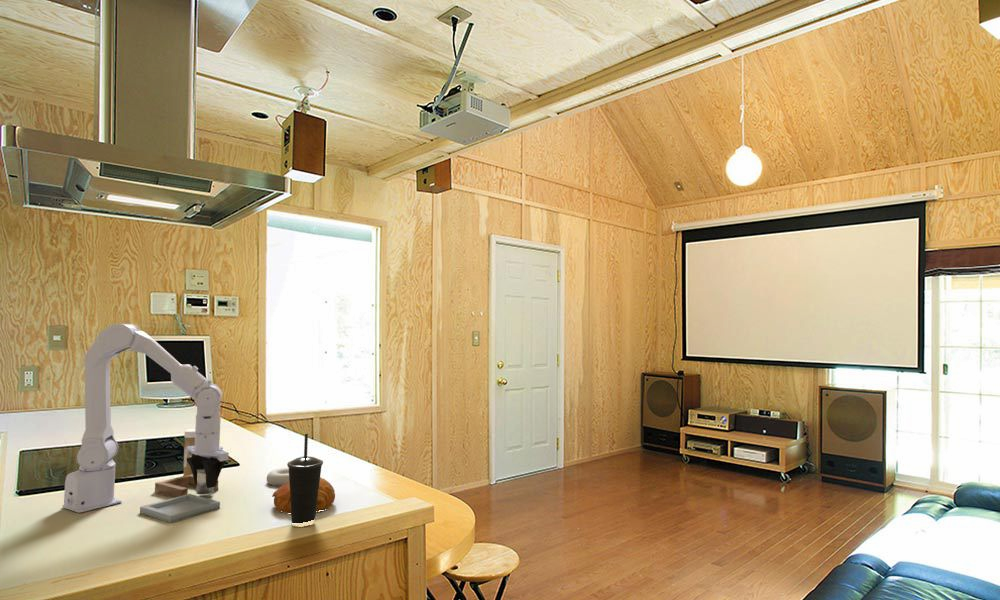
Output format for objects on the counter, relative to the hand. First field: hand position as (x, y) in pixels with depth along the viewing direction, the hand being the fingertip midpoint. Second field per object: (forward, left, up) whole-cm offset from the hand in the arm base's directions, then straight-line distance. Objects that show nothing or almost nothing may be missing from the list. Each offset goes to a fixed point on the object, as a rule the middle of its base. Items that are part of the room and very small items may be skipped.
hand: (205, 485), depth 147 cm
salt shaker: (0, 0, -2) cm, 2 cm away
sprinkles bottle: (+9, +19, -3) cm, 22 cm away
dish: (-10, -6, -3) cm, 12 cm away
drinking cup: (-1, -37, -3) cm, 37 cm away
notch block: (0, +8, -3) cm, 8 cm away
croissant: (+8, -27, -3) cm, 28 cm away
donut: (+20, -7, -3) cm, 21 cm away
